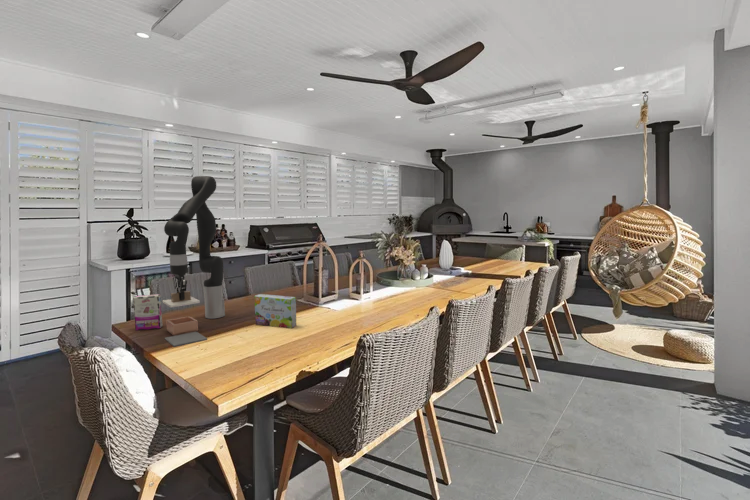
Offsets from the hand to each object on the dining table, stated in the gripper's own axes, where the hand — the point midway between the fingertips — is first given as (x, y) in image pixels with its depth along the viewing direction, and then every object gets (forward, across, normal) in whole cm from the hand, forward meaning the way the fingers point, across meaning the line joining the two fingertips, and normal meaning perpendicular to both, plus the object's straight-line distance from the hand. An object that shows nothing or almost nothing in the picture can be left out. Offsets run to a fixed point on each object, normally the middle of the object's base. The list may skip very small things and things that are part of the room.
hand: (181, 299), depth 197 cm
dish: (+16, 0, 0) cm, 16 cm away
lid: (+2, 0, 0) cm, 2 cm away
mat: (+15, -15, +3) cm, 22 cm away
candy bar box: (+16, +15, +11) cm, 24 cm away
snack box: (+16, -22, -38) cm, 47 cm away
